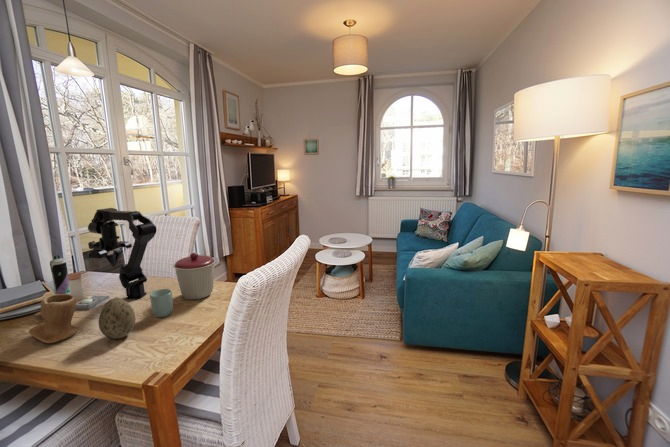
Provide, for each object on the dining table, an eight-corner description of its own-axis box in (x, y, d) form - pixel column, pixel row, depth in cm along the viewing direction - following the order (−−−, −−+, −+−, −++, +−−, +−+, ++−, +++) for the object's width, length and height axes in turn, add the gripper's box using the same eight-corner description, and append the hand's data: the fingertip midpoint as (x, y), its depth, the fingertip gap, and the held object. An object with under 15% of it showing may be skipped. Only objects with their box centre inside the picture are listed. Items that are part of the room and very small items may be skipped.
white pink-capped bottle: (87, 296, 140) (83, 272, 138) (79, 301, 136) (74, 276, 133) (77, 296, 140) (73, 272, 138) (69, 301, 136) (64, 276, 133)
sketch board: (109, 297, 142) (108, 293, 142) (89, 309, 130) (88, 305, 130) (75, 297, 142) (74, 293, 142) (51, 309, 130) (50, 305, 130)
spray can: (62, 299, 140) (54, 257, 136) (53, 298, 141) (45, 256, 137) (74, 294, 145) (67, 254, 141) (65, 293, 146) (58, 253, 142)
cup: (176, 314, 127) (174, 292, 125) (156, 321, 121) (153, 298, 119) (169, 308, 132) (167, 287, 130) (149, 315, 126) (147, 292, 124)
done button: (95, 301, 136) (94, 298, 135) (88, 306, 132) (87, 302, 131) (86, 301, 136) (85, 298, 135) (78, 306, 132) (78, 302, 131)
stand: (68, 313, 127) (66, 306, 127) (52, 321, 121) (51, 314, 120) (51, 313, 127) (49, 306, 127) (35, 321, 121) (33, 314, 120)
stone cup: (87, 332, 114) (81, 295, 111) (46, 349, 103) (38, 308, 100) (68, 321, 121) (62, 286, 118) (28, 336, 110) (20, 298, 107)
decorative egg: (128, 325, 118) (123, 289, 115) (143, 334, 113) (138, 296, 110) (95, 339, 109) (89, 300, 106) (110, 349, 104) (104, 308, 101)
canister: (172, 294, 146) (167, 252, 142) (210, 284, 158) (207, 245, 153) (182, 307, 133) (177, 262, 128) (223, 296, 144) (220, 253, 140)
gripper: (110, 229, 152) (114, 259, 155) (74, 239, 134) (80, 272, 137) (130, 230, 151) (134, 260, 154) (97, 240, 133) (102, 274, 136)
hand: (113, 266), depth 145 cm, fingers closed
